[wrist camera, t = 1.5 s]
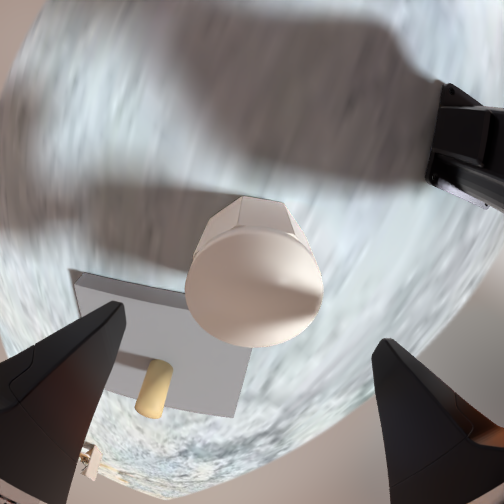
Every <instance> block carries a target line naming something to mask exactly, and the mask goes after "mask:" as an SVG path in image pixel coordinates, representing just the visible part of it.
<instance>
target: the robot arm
mask: <svg viewBox="0 0 504 504" xmlns="http://www.w3.org/2000/svg"><path fill="white" fill-rule="evenodd" d="M449 89H450V91H451V94H450V93H449ZM433 174H435V178H434V180H432V176H433ZM425 178H426V181H427V183H429V184H430V185H432V186H435V187H437V188H440V189H442V190H444V191H447V192H449V193H451V194H454V195H456V196H458V197H460V198H462V199H465V200H467V201H469V202H471V203H473V204H475V205H477V206H479V207H481V208H483V209H486V210H487V209H488V208H489V207H490V206H491V207H493V208H495V209H497V210H499V211H500V212H502V213H504V108H497V107H487V106H483V105H482V104H480V103H479V102H478V101H476V100H475V99H473V98H472V97H471V96H469V95H468V94H466V93H465V92H464V91H462V90H461V89H459V88H458V87H456V86H455V85H453V84H451V83H448V84H444V85H443V86H442V92H441V100H440V107H439V110H438V117H437V122H436V128H435V133H434V138H433V143H432V149H431V154H430V158H429V162H428V166H427V170H426V175H425ZM126 324H127V322H126V314H125V307H124V304H123V303H122V302H118V301H113V300H112V301H110V302H108V303H106V304H104V305H103V306H101V307H99V308H97V309H95V310H94V311H92V312H90V313H88V314H87V315H85V316H83V317H81V318H79V319H78V320H76V321H74V322H72V323H71V324H69V325H67V326H65V327H64V328H62V329H60V330H58V331H57V332H55V333H53V334H51V335H50V336H48V337H46V338H45V339H43V340H41V341H39V342H38V343H36V344H35V346H34V345H32V346H31V347H29V348H27V349H26V350H24V351H22V352H20V353H19V354H17V355H15V356H13V357H11V358H9V359H7V360H5V361H3V362H1V363H0V504H39V501H40V500H41V501H43V502H45V503H47V504H66V501H67V497H68V493H69V490H70V486H71V482H72V479H73V475H74V472H75V469H76V465H77V462H78V459H79V455H80V452H81V449H82V446H83V443H84V440H85V438H86V435H87V432H88V429H89V426H90V423H91V421H92V418H93V415H94V413H95V410H96V408H97V405H98V402H99V400H100V397H101V395H102V392H103V390H104V387H105V385H106V383H107V380H108V378H109V376H110V373H111V371H112V368H113V366H114V363H115V360H116V357H117V354H118V350H119V347H120V344H121V341H122V338H123V335H124V332H125V329H126ZM372 368H373V377H374V386H375V395H376V400H377V405H378V411H379V416H380V421H381V427H382V433H383V440H384V447H385V454H386V461H387V468H388V477H389V487H390V489H389V490H390V502H391V504H504V428H503V427H500V426H498V425H496V424H495V423H493V422H492V421H491V420H489V419H488V418H487V417H485V416H484V415H483V414H481V413H480V412H479V411H477V410H476V409H475V408H473V407H472V406H471V405H469V403H467V402H466V401H465V400H464V399H462V398H461V397H460V396H459V395H458V394H457V393H456V392H455V393H454V391H453V390H452V389H451V388H450V387H449V386H448V385H446V384H445V383H444V382H443V381H442V380H441V379H440V378H438V377H437V376H436V375H435V374H434V373H432V372H431V371H430V370H429V369H428V368H427V367H425V366H424V365H423V364H422V363H421V362H420V361H418V360H417V359H416V358H415V357H414V356H413V355H411V354H410V353H409V352H408V351H407V350H405V349H404V348H403V347H402V346H401V345H399V344H398V343H397V342H396V341H395V340H393V339H391V338H383V339H382V340H381V341H380V342H379V344H378V345H377V347H376V349H375V350H374V352H373V354H372Z"/></svg>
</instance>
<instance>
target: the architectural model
mask: <svg viewBox="0 0 504 504" xmlns="http://www.w3.org/2000/svg"><path fill="white" fill-rule="evenodd" d="M79 456H80V457H81V462H82V460H83V462H84V461H86V462H85V466H86V464H87V462H88V466H86V467H87V468H86V467H85V468H86V469H85V470H84V471H83V472H82V473H81V474H82V475H85V476H87V477H89V478H90V479H92V480H93V481H95V479H96V476H97V472H98V469H99V466H100V463H101V459H102V456H103V454H102V453H101V451H100V450H99V449H98V447H97V446H96V445H94V448H92V449H91V450H89V451H88V452H86V453H84V452H80V455H79ZM87 458H89V459H90V460H88V459H87ZM83 462H82V463H83Z"/></svg>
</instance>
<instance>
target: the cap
mask: <svg viewBox="0 0 504 504" xmlns="http://www.w3.org/2000/svg"><path fill="white" fill-rule="evenodd" d="M321 276H322V275H321V272H320V269H319V267H318V265H317V262H316V260H315V257H314V255H313V252H312V250H311V248H310V245H309V243H308V240H307V238H306V236H305V234H304V232H303V231H302V229H301V228H300V226H299V225H298V223H297V222H296V220H295V219H294V217H293V216H292V214H291V213H290V211H289V210H288V208H287V207H286V205H285V204H284V203H281V202H276V201H270V200H264V199H259V198H253V197H247V196H243V197H242V196H241V197H240V198H238V199H237V200H236V201H234V202H233V203H231V204H230V205H228V206H227V207H225V208H224V209H223V210H221V211H220V212H218V213H217V214H216V215H214V216H213V217H211V218H210V219H209V221H208V223H207V226H206V228H205V230H204V232H203V234H202V236H201V239H200V241H199V243H198V245H197V248H196V250H195V252H194V254H193V263H192V265H191V267H190V270H189V272H188V275H187V278H186V283H185V298H186V303H187V306H188V309H189V311H190V313H191V315H192V316H193V318H194V319H195V321H196V322H197V323H198V324H199V325H200V326H201V328H203V329H204V330H205V331H206V332H207V333H209V334H210V335H212V336H213V337H215V338H217V339H219V340H221V341H223V342H226V343H229V344H232V345H236V346H241V347H250V348H258V347H268V346H273V345H277V344H280V343H283V342H285V341H288V340H290V339H292V338H293V337H295V336H297V335H298V334H300V333H301V332H302V331H304V330H305V329H306V328H307V327H308V326H309V325H310V324H311V322H312V321H313V320H314V318H315V317H316V315H317V313H318V311H319V309H320V307H321V303H322V299H323V283H322V278H321Z"/></svg>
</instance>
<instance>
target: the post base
mask: <svg viewBox="0 0 504 504" xmlns="http://www.w3.org/2000/svg"><path fill="white" fill-rule="evenodd" d="M74 287H75V292H76V296H77V301H78V305H79V309H80V313H81V317H83V316H85V315H87V314H88V313H90V312H92V311H94V310H95V309H97V308H99V307H101V306H103V305H104V304H106V303H108V302H110V301H112V300H113V301H118V302H122V303H123V304H124V307H125V314H126V322H127V324H126V329H125V332H124V335H123V338H122V341H121V344H120V347H119V350H118V354H117V357H116V360H115V363H114V366H113V368H112V371H111V373H110V376H109V378H108V380H107V383H106V385H105V387H104V388H105V390H107V391H110V392H113V393H116V394H120V395H123V396H126V397H130V398H133V399H137V401H136V404H135V410H136V411H137V412H138V413H140V414H141V415H143V416H145V417H148V418H153V419H158V418H160V417H161V415H162V412H163V408H164V406H165V407H169V408H174V409H179V410H184V411H189V412H195V413H201V414H207V415H214V416H221V417H229V418H233V417H234V414H235V410H236V407H237V403H238V400H239V396H240V392H241V389H242V385H243V381H244V378H245V374H246V370H247V366H248V363H249V359H250V355H251V351H252V348H250V347H241V346H236V345H232V344H229V343H226V342H223V341H221V340H219V339H217V338H215V337H213V336H212V335H210V334H209V333H207V332H206V331H205V330H204V329H203V328H201V326H200V325H199V324H198V323H197V322H196V321H195V319H194V318H193V316H192V315H191V313H190V311H189V309H188V306H187V303H186V298H185V294H184V293H179V292H173V291H168V290H163V289H158V288H152V287H147V286H143V285H138V284H133V283H128V282H123V281H119V280H114V279H110V278H105V277H101V276H97V275H93V274H88V273H84V274H83V275H82V276H81V277H80V278H79V279H78V280H77V281H76V283H75V284H74Z"/></svg>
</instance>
